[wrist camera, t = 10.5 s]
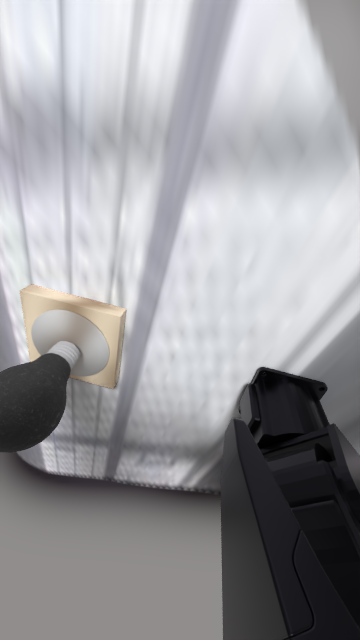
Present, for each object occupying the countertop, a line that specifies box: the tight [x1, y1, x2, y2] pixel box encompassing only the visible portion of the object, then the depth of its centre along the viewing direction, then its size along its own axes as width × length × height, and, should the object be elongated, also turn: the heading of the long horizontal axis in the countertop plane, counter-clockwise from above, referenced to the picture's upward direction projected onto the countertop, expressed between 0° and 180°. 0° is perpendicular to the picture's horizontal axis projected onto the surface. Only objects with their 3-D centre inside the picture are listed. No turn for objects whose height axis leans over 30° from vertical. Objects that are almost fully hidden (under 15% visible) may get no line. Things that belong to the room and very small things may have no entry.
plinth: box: [20, 284, 126, 389], centre depth 25 cm, size 9×9×2 cm
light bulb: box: [0, 341, 80, 452], centre depth 20 cm, size 6×6×10 cm
